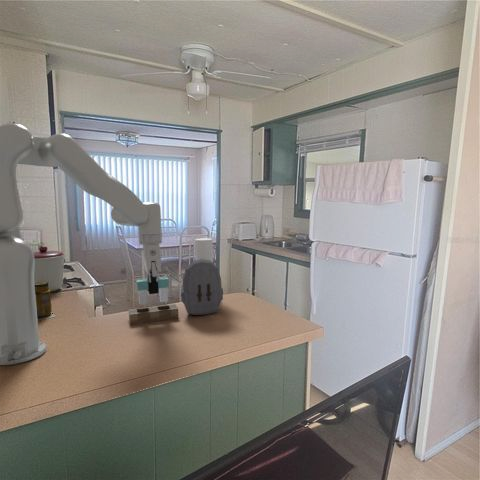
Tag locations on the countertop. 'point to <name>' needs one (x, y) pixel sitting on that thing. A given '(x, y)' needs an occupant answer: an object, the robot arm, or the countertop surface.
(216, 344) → the countertop surface
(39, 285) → the condiment
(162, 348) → the countertop surface
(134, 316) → the tan slotted block
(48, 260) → the canister
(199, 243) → the cylindrical container
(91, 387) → the countertop surface
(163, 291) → the teal and white bridge
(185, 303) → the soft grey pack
